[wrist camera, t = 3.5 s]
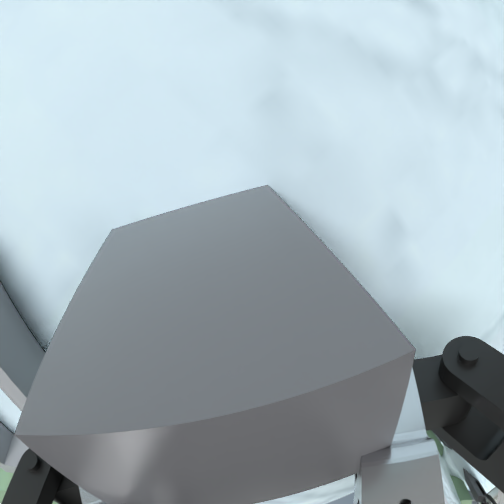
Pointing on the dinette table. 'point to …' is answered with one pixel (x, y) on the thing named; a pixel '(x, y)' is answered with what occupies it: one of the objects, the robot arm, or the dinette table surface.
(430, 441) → the robot arm
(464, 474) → the beer glass
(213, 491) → the grey stepped block
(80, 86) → the dinette table surface
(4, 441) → the multicoloured piece
